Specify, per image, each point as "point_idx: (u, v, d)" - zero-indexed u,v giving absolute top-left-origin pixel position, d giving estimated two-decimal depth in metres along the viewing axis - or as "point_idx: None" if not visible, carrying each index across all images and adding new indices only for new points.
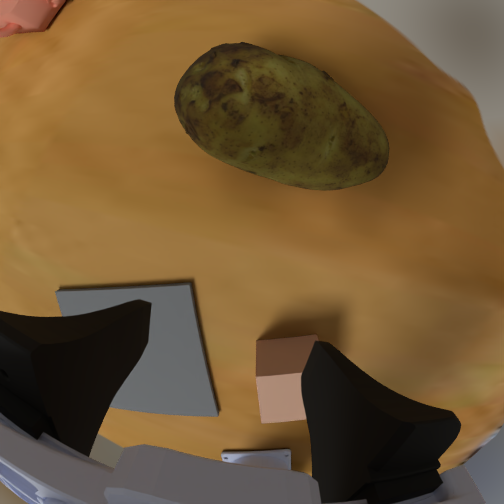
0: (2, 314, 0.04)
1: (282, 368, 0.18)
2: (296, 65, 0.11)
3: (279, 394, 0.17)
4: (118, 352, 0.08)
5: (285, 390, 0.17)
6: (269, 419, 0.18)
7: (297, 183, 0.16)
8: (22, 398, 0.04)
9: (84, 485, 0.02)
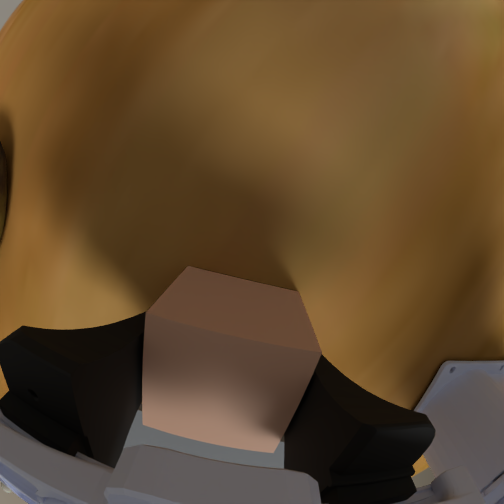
0: (27, 330, 0.04)
1: None
2: None
3: (192, 414, 0.08)
4: None
5: (183, 404, 0.08)
6: (267, 443, 0.08)
7: None
8: (54, 419, 0.04)
9: (84, 485, 0.02)
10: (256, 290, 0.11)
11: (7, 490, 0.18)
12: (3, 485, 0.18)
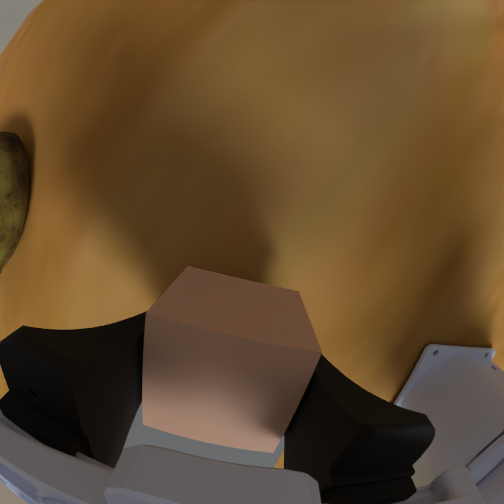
0: (27, 330, 0.04)
1: None
2: None
3: (193, 414, 0.08)
4: None
5: (184, 403, 0.08)
6: (267, 442, 0.08)
7: None
8: (54, 418, 0.04)
9: (84, 485, 0.02)
10: (256, 290, 0.11)
11: None
12: None
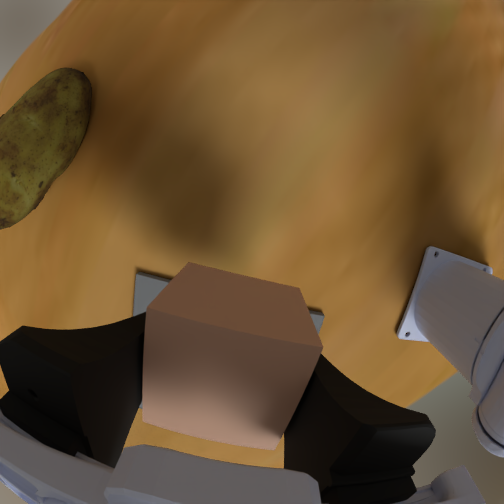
0: (27, 330, 0.04)
1: None
2: None
3: (193, 410, 0.08)
4: None
5: (184, 399, 0.08)
6: (268, 439, 0.08)
7: (59, 148, 0.14)
8: (54, 418, 0.04)
9: (84, 485, 0.02)
10: (257, 286, 0.11)
11: None
12: None
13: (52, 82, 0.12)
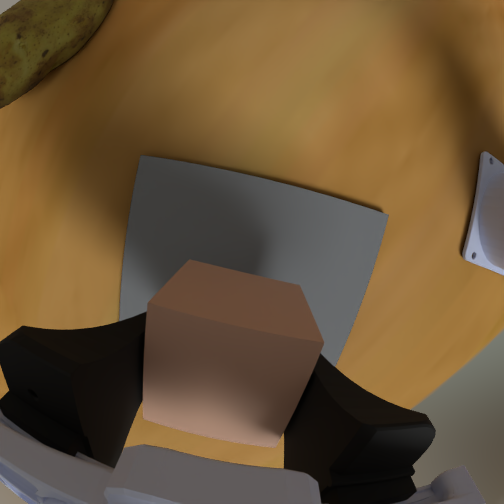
0: (27, 330, 0.04)
1: None
2: None
3: (194, 407, 0.08)
4: None
5: (185, 396, 0.08)
6: (269, 437, 0.08)
7: (76, 19, 0.09)
8: (54, 418, 0.04)
9: (84, 485, 0.02)
10: (258, 283, 0.11)
11: None
12: None
13: None
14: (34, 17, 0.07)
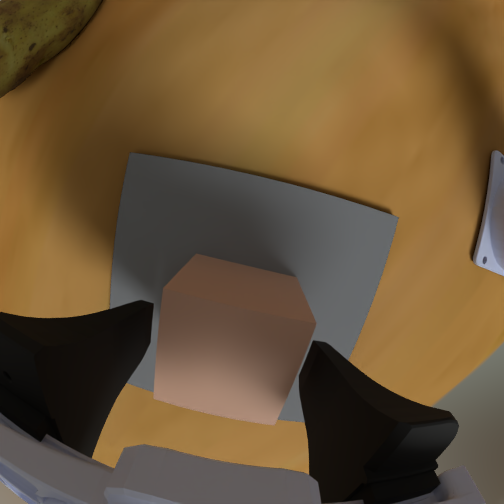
0: (4, 315, 0.04)
1: None
2: None
3: (201, 385, 0.09)
4: (121, 353, 0.08)
5: (193, 374, 0.09)
6: (269, 414, 0.09)
7: (65, 11, 0.08)
8: (25, 400, 0.04)
9: (84, 485, 0.02)
10: (258, 274, 0.12)
11: None
12: None
13: None
14: (21, 10, 0.05)
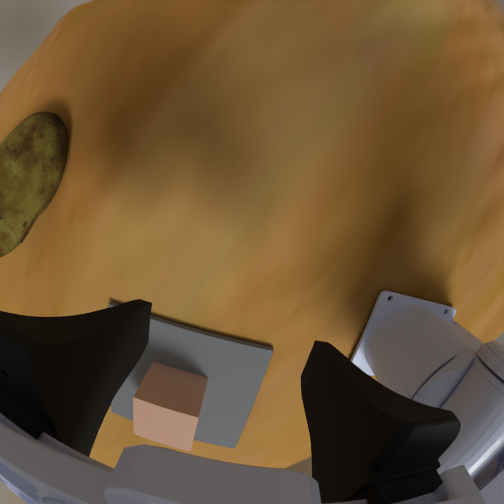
0: (2, 314, 0.04)
1: None
2: None
3: (154, 431, 0.17)
4: (118, 352, 0.08)
5: (150, 427, 0.17)
6: (186, 446, 0.18)
7: (39, 192, 0.16)
8: (22, 398, 0.04)
9: (84, 485, 0.02)
10: (184, 378, 0.21)
11: None
12: None
13: (29, 129, 0.14)
14: (6, 199, 0.13)
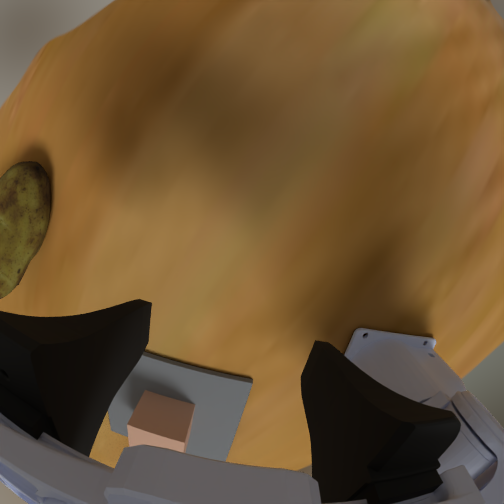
0: (2, 314, 0.04)
1: None
2: None
3: None
4: (118, 352, 0.08)
5: None
6: None
7: (28, 242, 0.17)
8: (22, 398, 0.04)
9: (84, 485, 0.02)
10: (173, 406, 0.21)
11: None
12: None
13: (12, 183, 0.14)
14: None
